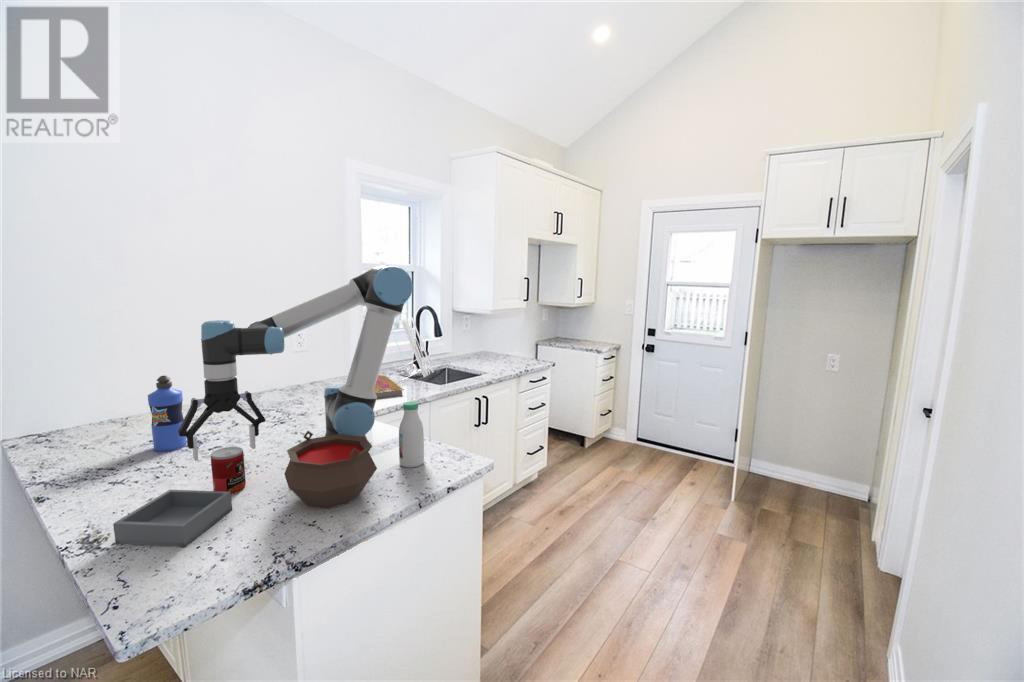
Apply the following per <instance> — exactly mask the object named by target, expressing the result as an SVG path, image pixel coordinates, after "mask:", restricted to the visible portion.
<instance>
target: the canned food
mask: <svg viewBox="0 0 1024 682" xmlns="http://www.w3.org/2000/svg"><path fill="white" fill-rule="evenodd" d="M210 464H211V477H212V486H213V491H224V492H231V495H233V494H232V493H234V494H236V493H235V492H237V493H239V492H241V491H243V490H244V489H243V488H246V483H247V481H246V467H245V455H244V449H243V448H242V447H239V446H227V447H222V448H218V449H216V450H214V451H212V452H211V453H210ZM240 490H241V491H240ZM238 491H239V492H238Z"/></svg>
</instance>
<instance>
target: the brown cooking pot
mask: <svg viewBox="0 0 1024 682" xmlns="http://www.w3.org/2000/svg"><path fill="white" fill-rule="evenodd" d="M308 435H309V436H308ZM313 435H314V433H313V432H311V431H309V430H307V431H306V433H305V434H304V435H303V438H304V439H305V440H304V441H302V442H300V443H298V444H296V445H293V447H291V448H289V449H287V450H286V451H287V454H288V458H289V462H288V464H287V466H286V468H285V471H284V477H285V481H286V484H287V487H288V489H290V490H291V491H292V492H293V493H294V494H295V496H297V497H298V498H299V499H300V500H301V501H302V502H303V503H304V504H305V505H306V506H307V507H312V508H318V509H319V508H320V509H325V508H326V509H327V508H328V509H332V508H335V506H336V507H339V506H338V505H340V506H343V505H342V504H344V505H347V503H348V504H350V503H351V502H352V501H353V500H354V499H356V498H357V497H358V496H359V495H360V494H361V493H362V491H363V490H364V488H365V487H366V485H367V484H368V482H369V481H370V479H371V478H372V476H374V474H375V472H376V471H377V470H378V467H377V466H376V464H375V462H374V459H373V458H372V455H371V454H370V450H371V449H372V447H373V445H372V444H371V443H370V441H369V440H368V438H367V439H366V438H365V437H362V436H352V435H343V434H336V435H330V436H325V435H324V436H320V437H319V436H318V437H313V438H312V436H313ZM357 495H358V496H357ZM356 496H357V497H356ZM350 501H351V502H350ZM349 502H350V503H349ZM331 507H332V508H331ZM328 509H327V510H328Z"/></svg>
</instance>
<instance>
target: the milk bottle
mask: <svg viewBox="0 0 1024 682" xmlns="http://www.w3.org/2000/svg"><path fill="white" fill-rule="evenodd" d="M402 408H403V412H404V413H403V416H402V419H401V420H400V424H399V428H398V447H399V448H398V452H399V453H398V455H399V456H398V457H399V464H400V466H402V467H403V468H410V469H411V468H418V467H420V466H423V464H424V461H425V442H424V441H425V440H424V437H425V436H424V435H425V434H424V426H423V422H422V420H421V418H420V416H419V414H418V410H419V402H417V401H407V402H404V403H403V407H402Z"/></svg>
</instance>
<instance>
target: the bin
mask: <svg viewBox="0 0 1024 682" xmlns="http://www.w3.org/2000/svg"><path fill="white" fill-rule="evenodd" d="M232 501H233V500H232V494H231V492H224V491H214V490H192V489H191V490H189V489H169V490H166V491H165V492H164V493H162V494H161V495H159V496H157V497H155V498H153V499H151V500H150V501H149V502H147V503H145V504H143V505H142V506H140V507H139V508H136V509H135V510H134V511H131V512H130V513H129V514H126V515H125V516H123V517H122V518H120V519H119V520H117V521H115V522H114V523H113V524H112V525H113V532H114V533H113V534H114V540H115V545H118V544H129V545H128V546H143V545H157V546H156V547H167V546H177V547H176V548H186V547H188V546H189V545H190V544H191V543H192V541H193V540H194V539H195V540H196V539H197V537H198V536H199V537H200V536H202V535H203V534H204V533H206V532H207V530H209V529H210V528H211V527H213V526H214V525H215V524H217V523H218V522H219V521H221V520H222V519H223V518H224V517H226V516H227V515H228V514H229V513H231V512H232V511H233V502H232ZM230 511H231V512H230ZM202 533H203V534H202ZM199 537H198V538H199ZM195 540H194V541H195ZM194 541H193V542H194ZM190 542H191V543H190ZM189 543H190V544H189ZM130 544H131V545H130ZM188 544H189V545H188ZM158 545H159V546H158ZM187 545H188V546H187ZM178 546H180V547H178Z"/></svg>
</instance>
